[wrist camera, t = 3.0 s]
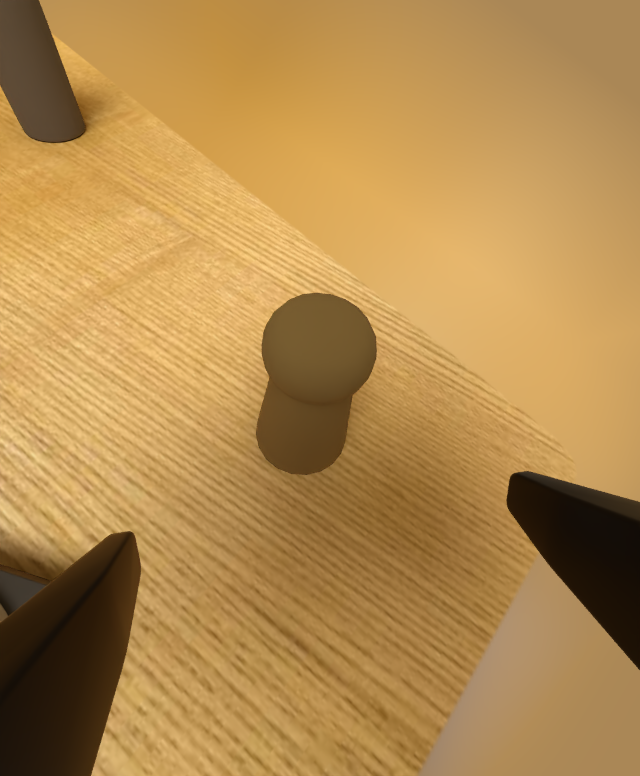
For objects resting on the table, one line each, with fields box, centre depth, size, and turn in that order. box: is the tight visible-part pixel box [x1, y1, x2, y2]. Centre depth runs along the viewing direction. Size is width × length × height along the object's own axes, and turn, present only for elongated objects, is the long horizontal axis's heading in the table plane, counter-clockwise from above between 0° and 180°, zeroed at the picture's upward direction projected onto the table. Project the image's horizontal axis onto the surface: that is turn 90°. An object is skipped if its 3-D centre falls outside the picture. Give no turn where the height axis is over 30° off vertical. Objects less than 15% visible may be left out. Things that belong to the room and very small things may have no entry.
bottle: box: [0, 0, 85, 142], centre depth 32 cm, size 6×6×15 cm
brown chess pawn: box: [256, 293, 377, 475], centre depth 20 cm, size 6×6×11 cm
